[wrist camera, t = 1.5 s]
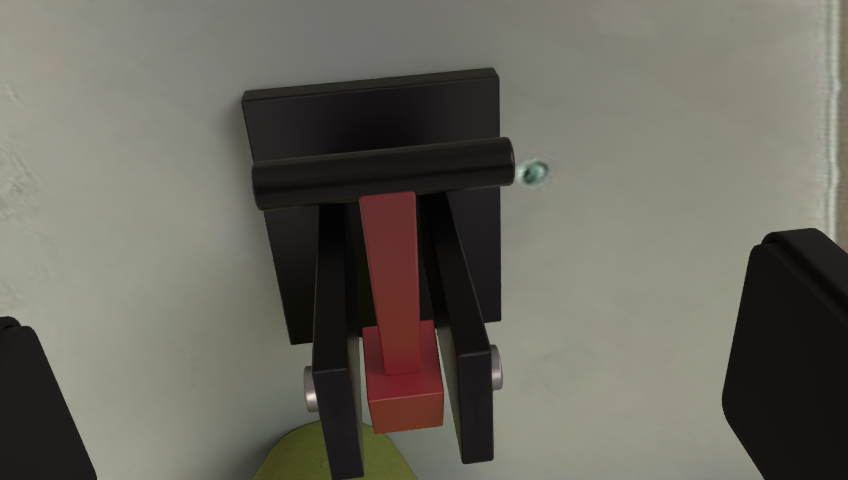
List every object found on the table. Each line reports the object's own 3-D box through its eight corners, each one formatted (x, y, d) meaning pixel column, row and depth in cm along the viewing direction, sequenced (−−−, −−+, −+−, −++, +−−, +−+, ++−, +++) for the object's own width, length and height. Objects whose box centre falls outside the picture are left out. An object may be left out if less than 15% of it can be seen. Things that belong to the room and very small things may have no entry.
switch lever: (250, 124, 14) (249, 222, 13) (502, 100, 14) (525, 193, 13) (326, 370, 24) (330, 440, 23) (474, 352, 24) (486, 421, 23)
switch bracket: (243, 90, 28) (185, 265, 17) (494, 66, 29) (589, 222, 18) (291, 330, 35) (270, 570, 24) (496, 307, 35) (568, 530, 24)
